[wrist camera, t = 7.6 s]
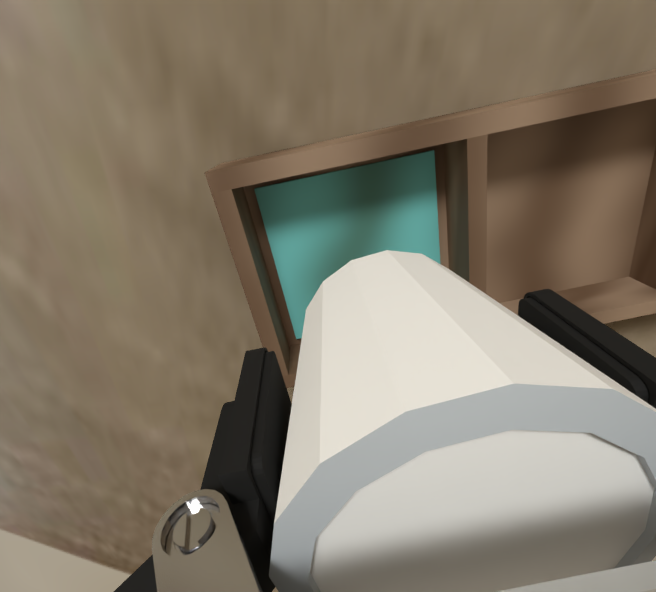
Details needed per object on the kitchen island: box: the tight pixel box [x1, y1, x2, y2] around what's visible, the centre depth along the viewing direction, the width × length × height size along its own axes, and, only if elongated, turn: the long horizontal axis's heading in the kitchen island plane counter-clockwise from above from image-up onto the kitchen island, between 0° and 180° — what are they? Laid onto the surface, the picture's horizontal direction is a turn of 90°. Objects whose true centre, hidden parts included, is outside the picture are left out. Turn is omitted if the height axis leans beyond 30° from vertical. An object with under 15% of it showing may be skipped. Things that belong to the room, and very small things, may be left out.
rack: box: [205, 69, 656, 388], centre depth 17 cm, size 31×12×3 cm, turn 101°
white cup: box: [269, 250, 656, 592], centre depth 9 cm, size 7×7×7 cm
